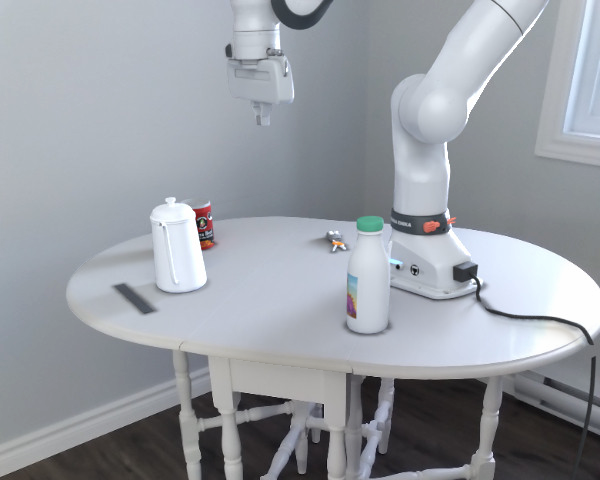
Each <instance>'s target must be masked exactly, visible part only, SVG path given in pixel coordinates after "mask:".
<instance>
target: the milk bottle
mask: <svg viewBox="0 0 600 480" xmlns="http://www.w3.org/2000/svg"><path fill="white" fill-rule="evenodd" d="M384 224H385V223H384V219H383V218H382V217H381V216H376V215H364V216H360V217H357V219H356V233H357V237H356V241H355V245H354V247H353V249H352V251H351V253H350V255H349V258H348V261H347V270H346V271H347V274H346V324H347V327H348V329H349V330H351V331H352V332H355V333H359V334H365V335H366V334H367V335H369V334H378V333H381V332H383V331H385V330H386V329H387V327H388V325H389V320H390V319H389V318H390V316H389V315H390V297H391V292H390V291H391V285H390V261H389V257H388V254H387V248H386V246H385V244H384V239H383V233H384Z"/></svg>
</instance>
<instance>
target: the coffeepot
mask: <svg viewBox="0 0 600 480" xmlns="http://www.w3.org/2000/svg"><path fill="white" fill-rule="evenodd" d="M164 202H165V203H163V204H159V205H156V206H155V207H154V208H153V209H152V211H151V214H150V215H149V221H150V223H151V237H152V249H153V250H152V251H153V260H154V261H153V263H154V273H155V275H154V276H155V282H156V283H155V284H156V286H157V288H159V289H160V290H161V291H163V292H166V293H171V294H182V293H183V294H184V293H190V292H193V291H196V290H199V289H200V288H202V287H203V286H204V285H205V284H206V283H207V273H206V268H205V262H204V257H203V252H202V250H201V247H200V242H199V237H198V232H197V227H196V221H195V212H194V211H192V209H191V207H190V206H188V205H186V204H183V203H180V202H176V197H174V196H169V197H166V198H164Z"/></svg>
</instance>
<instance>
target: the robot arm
mask: <svg viewBox="0 0 600 480" xmlns="http://www.w3.org/2000/svg"><path fill="white" fill-rule="evenodd" d="M334 1H335V0H230V1H229V2H230V7H231V10H232V14H233V26H232V34H233V38H231V40H230V41H229V42H228V43H226V44H225V45H224V47H223V55H224V58H225V59H227V61H226V73H227V82H228V89H229V92H230V95H231V96H232V98H234V99H241V100H247V101H250V107H251V110H252V114H253V115H254V123H255V125H257V126H259V127H268V126H270V124H271V120H270V119H271V118H270V116H271V113H272V109H273V105H277V106H283V105H284V106H285V105H291V104H292V103H293V102H294V99H295V89H294V88H295V87H294V80H293V73H292V67H291V63H290V61H288V57H287V56H286V54H285V53H284V50H283V49H282V48H281V34H280V25H281V23H282V25H284V26H285V27H287V28H289V29H291V30H296V31H303V30H309V29H310V28H312V27H314V26H315V25H317V24H318V23H319V22H320V21H321V20H322V19H323V17H324V16H325V14H326V13H327V12H328V10H329V8H330V6H332V4H333V3H334ZM549 1H550V0H474V1H473V2H472V4H471V5H470V6H469V8H468V9H467V10H466V11H465V12H464V14H463V15H461V18H459V20H458V21H457V22H456V24H455V25H454V26H453V28H452V29H451V30H450V31H449V33H448V34H447V36H446V38H445V42H444V44H443V46H442V48H441V49H440V52H439V53H438V55H437V57H436V59H435V60H434V62H433V64H432V65H431V67H430V68H429V69H428V71H427V73H415V74H412V75H410V76H407V77H405V78H404V79H402V80H401V81H400V82H398V84H397V85H396V86H395V88H394V89H393V91H392V94H391V95H390V103H389V105H390V112H391V114H390V115H391V135H392V136H391V137H392V138H391V139H392V149H393V151H392V152H393V159H394V160H393V163H394V184H393V185H394V186H393V206H392V208H391V210H390V215H389V218H390V223H389V225H390V227H391V232H390V236H389V239H388V243H387V248H386V252H387V254H388V257H389V261H390V287H391V286H392V287H394V288H397V289H401V290H404V291H407V292H410V293H413V294H416V295H420V296H423V297H426V298H429V299H433V300H449V299H452V298H453V299H454V298H458V297H462V296H466V295H468V294H471V293H473V292H475V297H476V300H477V301H478V302H480V303H482V298H481V295H480V291H481V289H482V287H483V285H484V280H483V279H482V278H480V277H478V269H479V264H478V263H475V262H473V258H472V255H471V254H470V252H469V251H468V249H467V248H466V247H465V246H464V245H463V244H462V242H461V241H460V240H459V238H458V237H457V236H456V234H455V233H454V232H453V230H452V228H453V227H452V224H455V223H456V221H455V220H456V219H457V217H455V216H454V217H451V216H450V211H449V209H448V198H449V189H450V177H451V176H450V175H451V167H450V163H449V158H448V150H447V143H449V142H451V141H453V140H455V139H456V138H457V137H459V136H460V135H461V133H462V132H463V130H464V129H465V127H466V125H467V123H468V118H469V114H470V112H471V110H472V109H473V108H474V106H475V104H476V102H477V101H478V99H479V97H480V95H481V94H482V92H483V90H484V88H485V87H486V85H487V83H488V82H489V81H490V79H491V78H492V76H493V75H494V74H495V72H496V71H497V70H498V69H499V67H500V66H501V65H502V64H503V63H504V61H506V59H507V58H508V56H510V54H511V53H512V52H513V50H514V49H515V48H516V47H517V45H518V44H519V43H520V42H521V41H522V40H523V38H524V37H525V36H526V35H527V33H528V32H529V31H530V30H531V28H532V27H533V26H534V24H535V23H536V21H537V20H538V19H539V17H540V16H541V15H542V13H543V11H544V10H545V8H546V7H547V5H548V3H549ZM484 309H485V310H486V311H487V312H489V313H491V314H494V315H497V316H501V317H504V318H507V319H514V320H515V319H516V320H538V321H539V320H543V321H553V322H558V323H561V324H565V325H568V326H572V327H575V328H576V329H579V330H580V331H581V333H582V334H583V336H584V337H585V339H586V341H587V344H588V345H590V346H594V345H595V344H594V341H593V339H592V337H591V335H590V333H589V331H588V330H587V329H586V327H584V325H582V324H580V323H578V322H575V321H572V320H568V319H566V318H562V317H558V316H551V315H532V314H531V315H530V314H529V315H525V314H512V313H508V312H504V311H501V310H496V309H494V308H489V307H486V306H485V308H484ZM590 361H591V362H590V363H591V364H590V380H589V391H588V392H589V393H588V401H587V407H586V414H585V418H584V424H583V428H582V433H581V436H580V441H579V445H578V450H577V453H576V457H575V460H574V463H573V467H572V471H571V473H570V478H569V480H575V478H576V475H577V472H578V466H579V464H580V460H581V457H582V452H583V449H584V447H585V442H586V439H587V434H588V430H589V425H590V420H591V415H592V409H593V402H594V395H595V385H596V369H597V368H596V367H597V355H594V356H592V357H591V359H590Z"/></svg>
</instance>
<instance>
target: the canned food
mask: <svg viewBox="0 0 600 480" xmlns="http://www.w3.org/2000/svg"><path fill="white" fill-rule="evenodd" d="M179 203H183V204H186V205H188V206H190V207H191V209H192V211H194V212H195V221H196V227H197V232H198V237H199V242H200V247H201V251H205V250H208V249H212V247H214V245H215V234H214V233H215V232H214V223H213V212H212V206H211V205H212V204H211V201H210V200H209V199H207V198H205V197H204V198H202V197H195V198H188V199H187V198H186V199H184V200H181V201H180V202H179Z"/></svg>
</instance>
